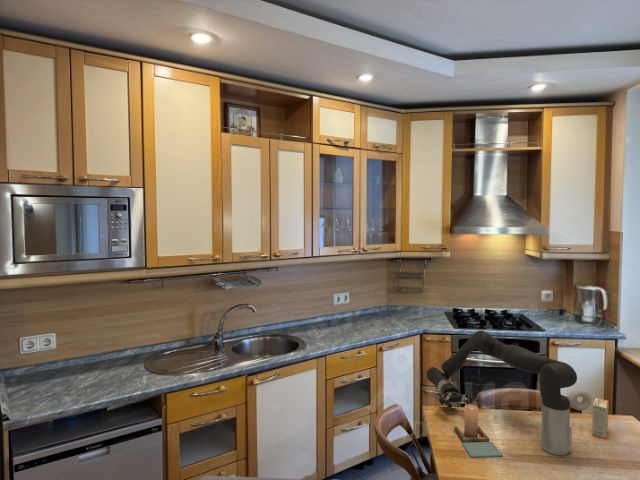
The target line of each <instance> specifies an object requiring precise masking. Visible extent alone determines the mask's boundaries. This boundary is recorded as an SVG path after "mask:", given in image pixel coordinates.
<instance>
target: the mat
mask: <svg viewBox="0 0 640 480" xmlns="http://www.w3.org/2000/svg"><path fill="white" fill-rule="evenodd" d="M461 445H462V447H463V448H464V449H465V451H466V453H467V454H468V455H469V458H471V459H472V458H503V457H504V455H503V453H502V452H501V451H500V450H499V449H498V447H497V445H495V444H494V442H493V441H489V442H474V443H463V442H461Z"/></svg>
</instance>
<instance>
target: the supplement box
mask: <svg viewBox="0 0 640 480" xmlns="http://www.w3.org/2000/svg"><path fill="white" fill-rule="evenodd" d="M591 421H592V427H591V428H592V429H591V436H592V437H596V438H599V439H603V440H606V439H607V436H608V429H609V427H608V425H609V400H606V399H603V398H597V397H595V399H594V401H593V404H592V419H591Z"/></svg>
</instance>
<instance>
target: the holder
mask: <svg viewBox="0 0 640 480" xmlns="http://www.w3.org/2000/svg"><path fill="white" fill-rule="evenodd" d="M453 430H454V432H455V434H456V435H457V436H458V438H459V439H460V441H461V443H474V442H490V438H489V437H488V435H487V434H486V433H485V432H484V430H482V428H481V427H480V426H479V425H478V434H479V436H478V437H474V438H466V437H465V436H464V433H462V432H461V430H460V428H459V427H458V426H454V427H453Z"/></svg>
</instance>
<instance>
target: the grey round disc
mask: <svg viewBox="0 0 640 480" xmlns="http://www.w3.org/2000/svg"><path fill="white" fill-rule="evenodd" d="M580 397H582V400H581V401H580V402H578V398H580ZM567 398H568V399H569V401H570V408H572V409H574V410H575V411H585V410H588V408H590V406H591V404H592V397H591V394H590V393H589V392H588V391H587V390H585V389H583V388H576V389H574V390H572V391H570V393H569V394H568V397H567Z"/></svg>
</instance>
